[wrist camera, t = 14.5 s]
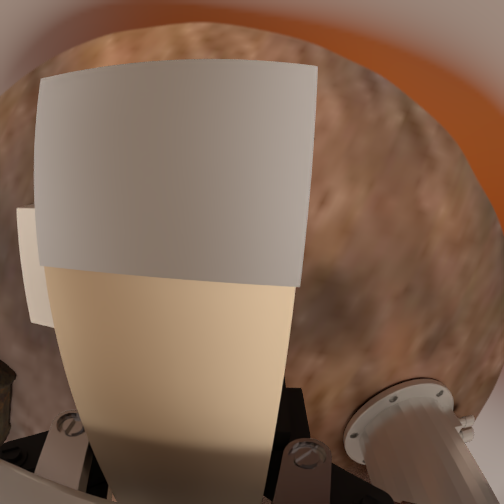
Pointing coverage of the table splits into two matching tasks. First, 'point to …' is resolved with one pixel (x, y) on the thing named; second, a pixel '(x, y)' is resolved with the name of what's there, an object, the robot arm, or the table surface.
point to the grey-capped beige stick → (176, 263)
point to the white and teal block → (33, 268)
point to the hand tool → (5, 399)
